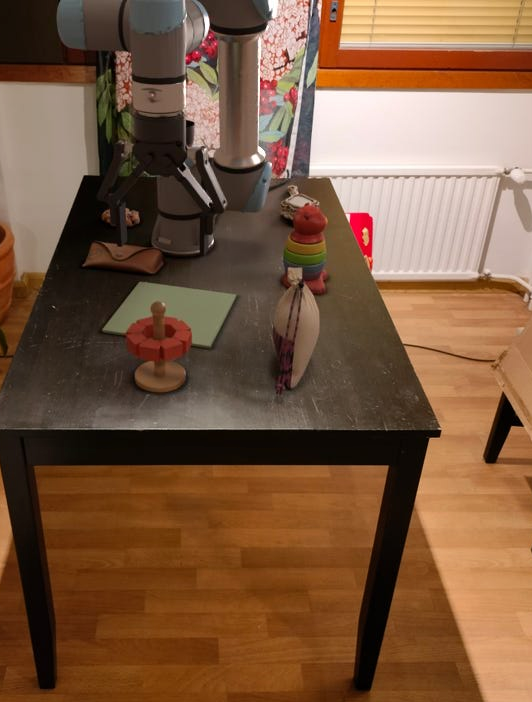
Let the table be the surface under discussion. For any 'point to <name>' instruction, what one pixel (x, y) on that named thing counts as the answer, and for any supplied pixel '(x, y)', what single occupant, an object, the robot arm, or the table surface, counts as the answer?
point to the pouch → (295, 330)
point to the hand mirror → (295, 202)
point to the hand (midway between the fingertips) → (162, 248)
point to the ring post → (159, 373)
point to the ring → (159, 349)
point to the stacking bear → (307, 248)
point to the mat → (175, 310)
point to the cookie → (131, 217)
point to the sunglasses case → (124, 258)
